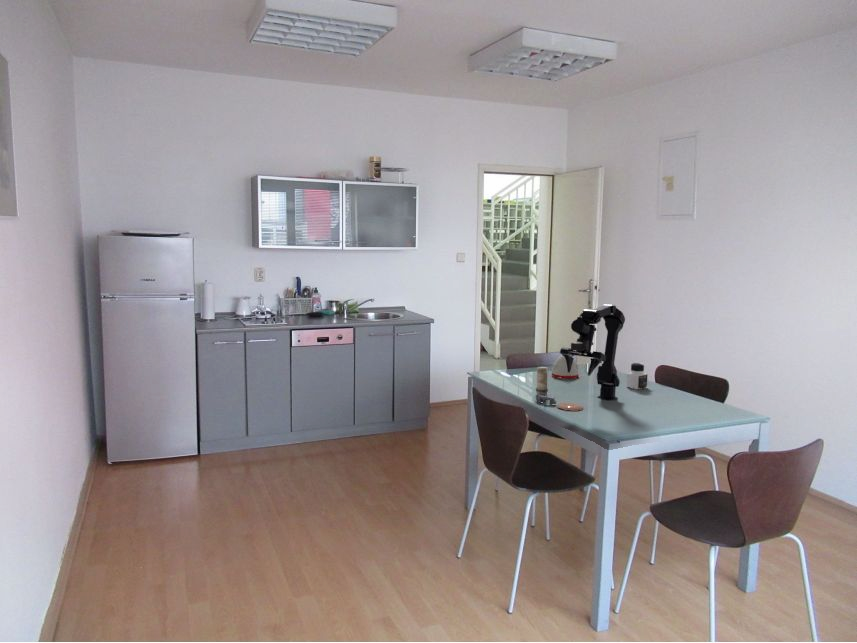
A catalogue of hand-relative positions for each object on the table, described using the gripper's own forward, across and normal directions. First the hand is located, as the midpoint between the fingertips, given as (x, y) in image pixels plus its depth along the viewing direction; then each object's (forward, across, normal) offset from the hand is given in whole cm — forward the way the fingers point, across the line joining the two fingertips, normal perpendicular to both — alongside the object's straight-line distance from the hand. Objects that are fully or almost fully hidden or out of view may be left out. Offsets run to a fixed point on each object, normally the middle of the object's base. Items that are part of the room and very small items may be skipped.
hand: (578, 374), depth 269 cm
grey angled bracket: (+13, -18, +11) cm, 25 cm away
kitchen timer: (-6, -37, +62) cm, 72 cm away
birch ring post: (+10, -26, +20) cm, 34 cm away
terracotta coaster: (+14, -5, +10) cm, 18 cm away
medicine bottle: (-6, +2, +62) cm, 62 cm away
